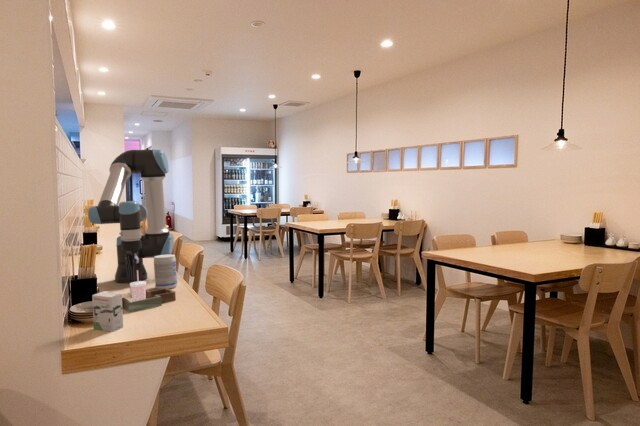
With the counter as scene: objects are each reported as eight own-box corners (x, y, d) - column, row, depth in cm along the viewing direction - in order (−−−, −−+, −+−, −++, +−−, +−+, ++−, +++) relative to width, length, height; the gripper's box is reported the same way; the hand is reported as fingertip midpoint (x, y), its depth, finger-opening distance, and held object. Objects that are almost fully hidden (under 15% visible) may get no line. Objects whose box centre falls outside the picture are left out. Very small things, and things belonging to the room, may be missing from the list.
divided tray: (95, 305, 171) (95, 297, 170) (160, 293, 188) (160, 285, 187) (109, 316, 156) (109, 307, 156) (178, 301, 173) (178, 293, 173)
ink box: (92, 329, 142) (90, 294, 142) (105, 324, 147) (103, 290, 146) (112, 332, 139) (110, 296, 138) (124, 327, 144) (122, 292, 143)
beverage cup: (141, 307, 166) (139, 272, 165) (127, 307, 168) (125, 271, 167) (151, 303, 172) (149, 268, 171) (137, 302, 174) (135, 268, 173)
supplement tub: (179, 287, 197) (178, 256, 196) (158, 291, 192) (156, 258, 191) (174, 283, 205) (172, 253, 204) (153, 287, 200) (151, 255, 199)
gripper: (116, 239, 175) (120, 295, 177) (126, 242, 166) (130, 302, 168) (135, 237, 180) (138, 292, 182) (146, 240, 171) (150, 298, 173)
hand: (134, 297), depth 175 cm, fingers closed
